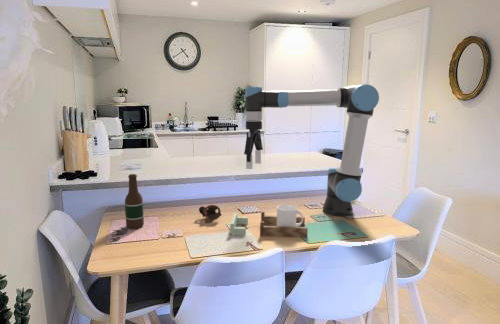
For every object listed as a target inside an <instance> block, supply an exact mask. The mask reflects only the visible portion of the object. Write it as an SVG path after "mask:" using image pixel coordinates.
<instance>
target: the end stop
mask: <svg viewBox="0 0 500 324" xmlns="http://www.w3.org/2000/svg"><path fill="white" fill-rule="evenodd" d="M236 225H237V226H236ZM238 225H249V217H248V216H238V212H233V215H232V218H231V221H230V225H229V226H230V229H229V231H230V232H229V233H230V234H235V235H234V236H246V234H247V232H246V230H247V229H246V227H241V226H240V227H239V226H238ZM230 234H229V235H230Z"/></svg>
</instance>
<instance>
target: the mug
mask: <svg viewBox="0 0 500 324" xmlns="http://www.w3.org/2000/svg"><path fill="white" fill-rule="evenodd" d="M297 215H300V217H302V221H303V217H304V215H303V213H302V212H301V211H300V210H299V209H298V208H297V207H296V205H295V206H294V205H291V204H280V205H277V206H276V216H277V225H276V226H283V227H301V226H300V225H301V224H302V221H301V222H300V223H296V217H297Z"/></svg>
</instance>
